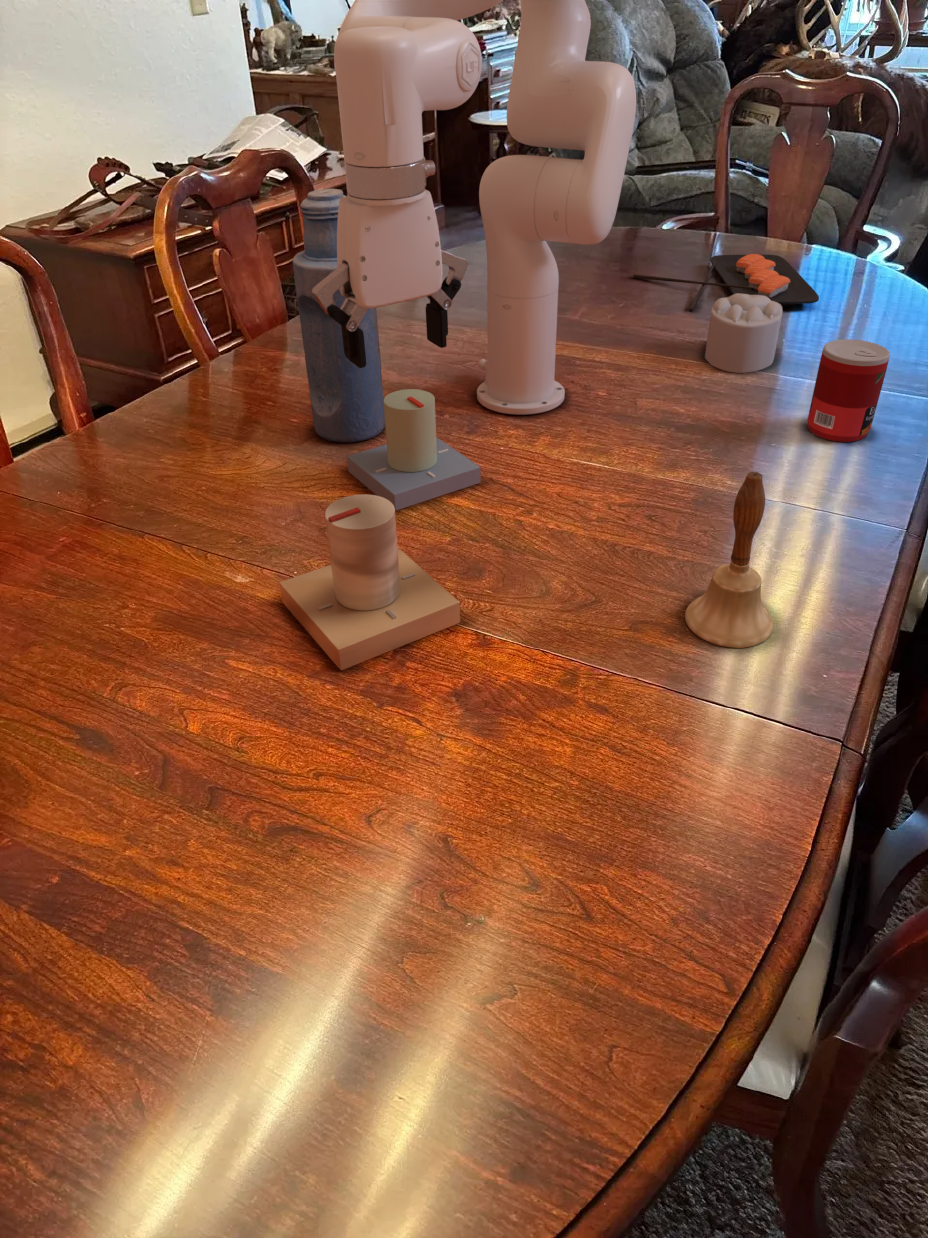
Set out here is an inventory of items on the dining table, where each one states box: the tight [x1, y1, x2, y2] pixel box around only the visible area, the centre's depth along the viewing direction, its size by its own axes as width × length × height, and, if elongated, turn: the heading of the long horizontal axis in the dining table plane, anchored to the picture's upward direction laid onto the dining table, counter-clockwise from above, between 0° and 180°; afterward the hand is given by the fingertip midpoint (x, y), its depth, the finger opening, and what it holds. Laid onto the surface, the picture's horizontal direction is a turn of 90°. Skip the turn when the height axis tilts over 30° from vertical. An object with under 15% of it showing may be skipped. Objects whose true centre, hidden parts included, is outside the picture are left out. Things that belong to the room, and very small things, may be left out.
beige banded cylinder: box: [324, 493, 401, 611], centre depth 87 cm, size 6×6×9 cm
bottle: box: [292, 188, 385, 444], centre depth 116 cm, size 10×10×30 cm
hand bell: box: [684, 471, 774, 649], centre depth 84 cm, size 8×8×16 cm
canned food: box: [806, 339, 891, 443], centre depth 119 cm, size 8×8×11 cm
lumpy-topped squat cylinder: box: [704, 293, 783, 374], centre depth 141 cm, size 10×13×9 cm
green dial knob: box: [384, 388, 437, 472], centre depth 110 cm, size 6×6×8 cm
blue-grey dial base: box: [346, 436, 482, 512], centre depth 113 cm, size 12×12×2 cm
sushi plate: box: [632, 253, 820, 312], centre depth 171 cm, size 29×30×4 cm
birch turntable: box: [278, 547, 461, 672], centre depth 90 cm, size 13×13×3 cm
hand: (397, 353), depth 99 cm, fingers open, 9 cm apart
